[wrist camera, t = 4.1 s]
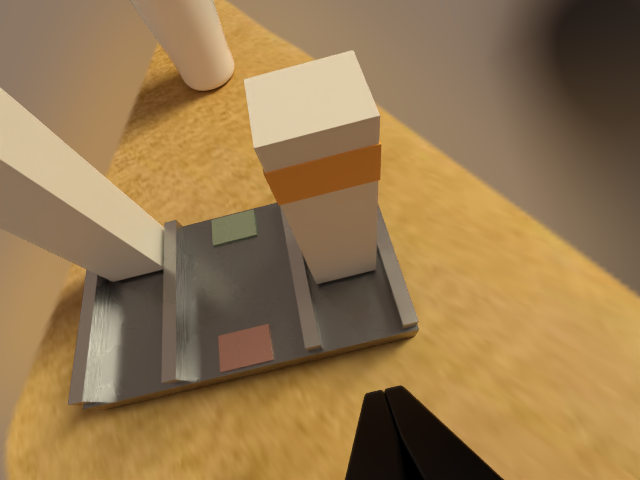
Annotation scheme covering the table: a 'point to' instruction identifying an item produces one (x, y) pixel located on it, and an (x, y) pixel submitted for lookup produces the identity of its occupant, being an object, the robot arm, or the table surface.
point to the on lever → (70, 202)
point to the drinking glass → (190, 39)
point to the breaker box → (229, 311)
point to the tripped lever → (321, 159)
